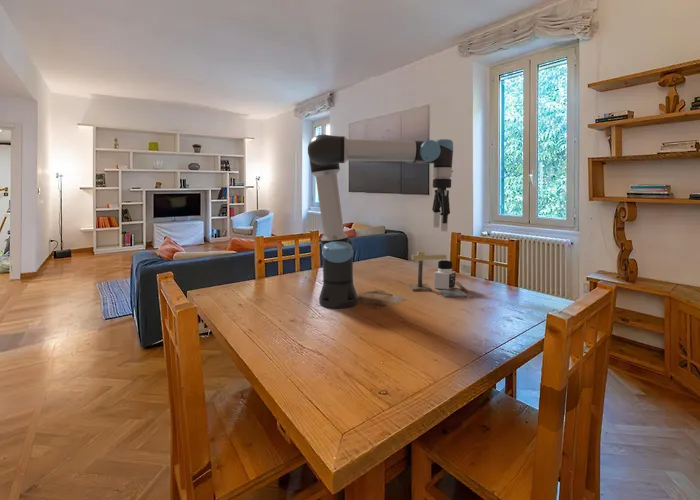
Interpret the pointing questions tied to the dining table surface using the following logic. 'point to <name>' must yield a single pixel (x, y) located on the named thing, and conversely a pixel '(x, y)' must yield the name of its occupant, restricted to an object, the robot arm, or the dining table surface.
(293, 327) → the dining table surface
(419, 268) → the holder
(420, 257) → the key
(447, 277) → the medicine bottle
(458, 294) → the coaster
